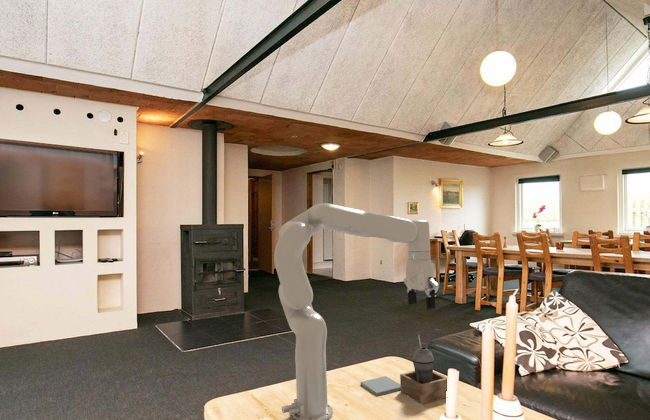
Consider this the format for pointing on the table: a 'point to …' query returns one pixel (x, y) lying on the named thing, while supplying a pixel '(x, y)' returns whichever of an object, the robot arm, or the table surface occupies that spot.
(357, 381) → the table surface
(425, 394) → the box
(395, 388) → the rubber mat
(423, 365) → the beverage cup
